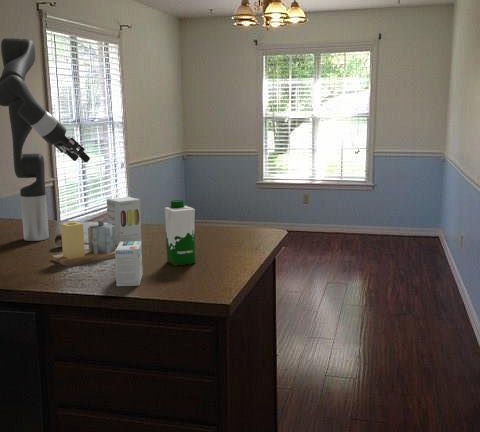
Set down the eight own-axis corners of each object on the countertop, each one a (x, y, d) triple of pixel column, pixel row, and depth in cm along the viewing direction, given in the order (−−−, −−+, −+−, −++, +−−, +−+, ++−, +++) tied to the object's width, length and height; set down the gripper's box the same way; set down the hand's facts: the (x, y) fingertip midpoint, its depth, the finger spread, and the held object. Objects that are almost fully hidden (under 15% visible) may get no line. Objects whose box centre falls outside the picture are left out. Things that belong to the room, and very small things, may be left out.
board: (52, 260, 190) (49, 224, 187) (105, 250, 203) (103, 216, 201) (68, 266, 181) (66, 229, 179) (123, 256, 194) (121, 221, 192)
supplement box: (119, 247, 207) (117, 201, 204) (107, 243, 214) (105, 198, 211) (142, 243, 213) (140, 198, 210) (129, 239, 220) (127, 196, 217)
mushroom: (69, 242, 201) (67, 226, 204) (50, 249, 203) (49, 234, 206) (83, 248, 208) (81, 233, 211) (65, 255, 210) (63, 240, 213)
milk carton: (188, 257, 191) (186, 199, 187) (199, 264, 183) (197, 202, 179) (163, 261, 187) (161, 201, 183) (173, 267, 179) (171, 204, 175)
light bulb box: (120, 276, 170) (118, 241, 168) (143, 275, 171) (141, 240, 169) (115, 286, 160) (114, 249, 158) (140, 286, 160) (138, 248, 158)
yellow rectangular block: (62, 256, 188) (60, 223, 186) (77, 253, 192) (75, 221, 190) (70, 259, 185) (68, 225, 183) (84, 256, 188) (82, 223, 186)
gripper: (64, 119, 183) (98, 152, 193) (46, 118, 193) (79, 150, 203) (50, 136, 180) (85, 169, 190) (32, 135, 191) (66, 166, 201)
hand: (82, 159), depth 197 cm, fingers open, 8 cm apart
